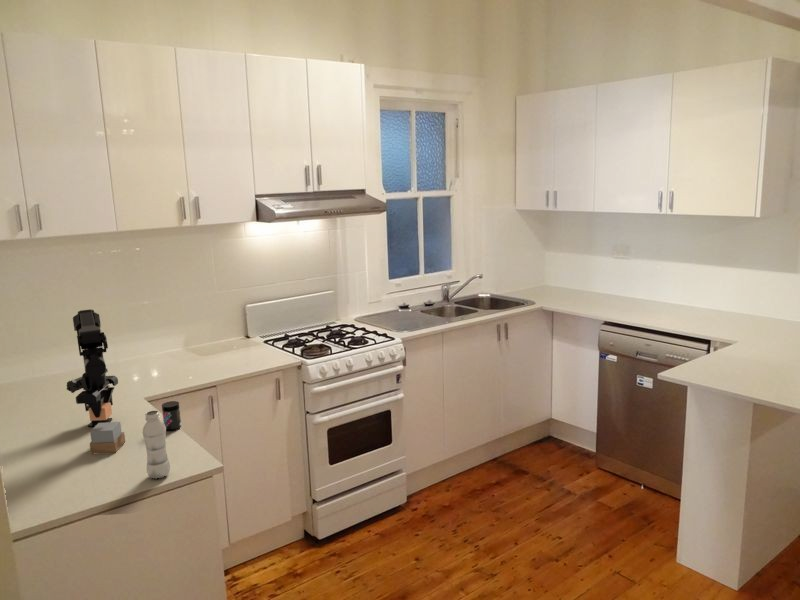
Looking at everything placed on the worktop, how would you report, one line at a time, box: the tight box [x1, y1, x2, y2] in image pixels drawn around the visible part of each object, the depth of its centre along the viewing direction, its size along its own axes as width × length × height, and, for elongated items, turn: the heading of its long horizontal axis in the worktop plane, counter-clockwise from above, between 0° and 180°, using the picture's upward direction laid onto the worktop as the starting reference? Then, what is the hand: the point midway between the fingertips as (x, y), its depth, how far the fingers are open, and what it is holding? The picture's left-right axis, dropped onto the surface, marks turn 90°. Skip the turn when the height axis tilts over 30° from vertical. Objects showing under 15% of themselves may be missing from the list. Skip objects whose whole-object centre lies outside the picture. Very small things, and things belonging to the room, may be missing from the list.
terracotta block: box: [88, 403, 113, 421], centre depth 205 cm, size 5×5×4 cm
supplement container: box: [161, 400, 182, 432], centre depth 222 cm, size 6×6×9 cm
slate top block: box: [89, 421, 123, 443], centre depth 207 cm, size 7×7×4 cm
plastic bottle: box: [142, 410, 171, 480], centre depth 186 cm, size 6×7×20 cm
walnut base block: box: [89, 431, 126, 455], centre depth 208 cm, size 8×8×4 cm
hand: (101, 414), depth 206 cm, fingers closed on terracotta block, 5 cm apart
